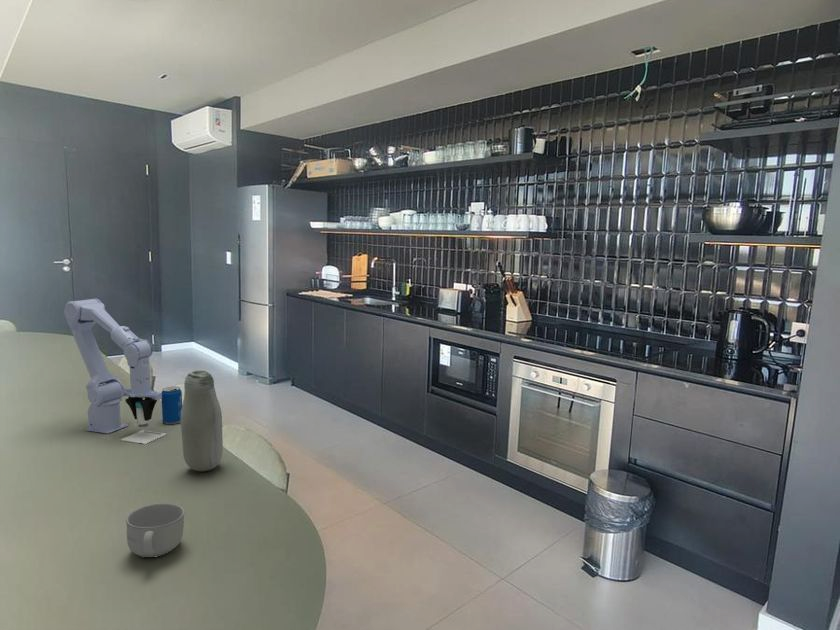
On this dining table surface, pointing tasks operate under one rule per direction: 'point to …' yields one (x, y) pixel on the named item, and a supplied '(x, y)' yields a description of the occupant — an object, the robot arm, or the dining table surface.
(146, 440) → the white flat panel
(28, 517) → the dining table surface
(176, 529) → the teacup
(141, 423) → the white teal capped bottle
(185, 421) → the grey bottle
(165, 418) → the beverage can
